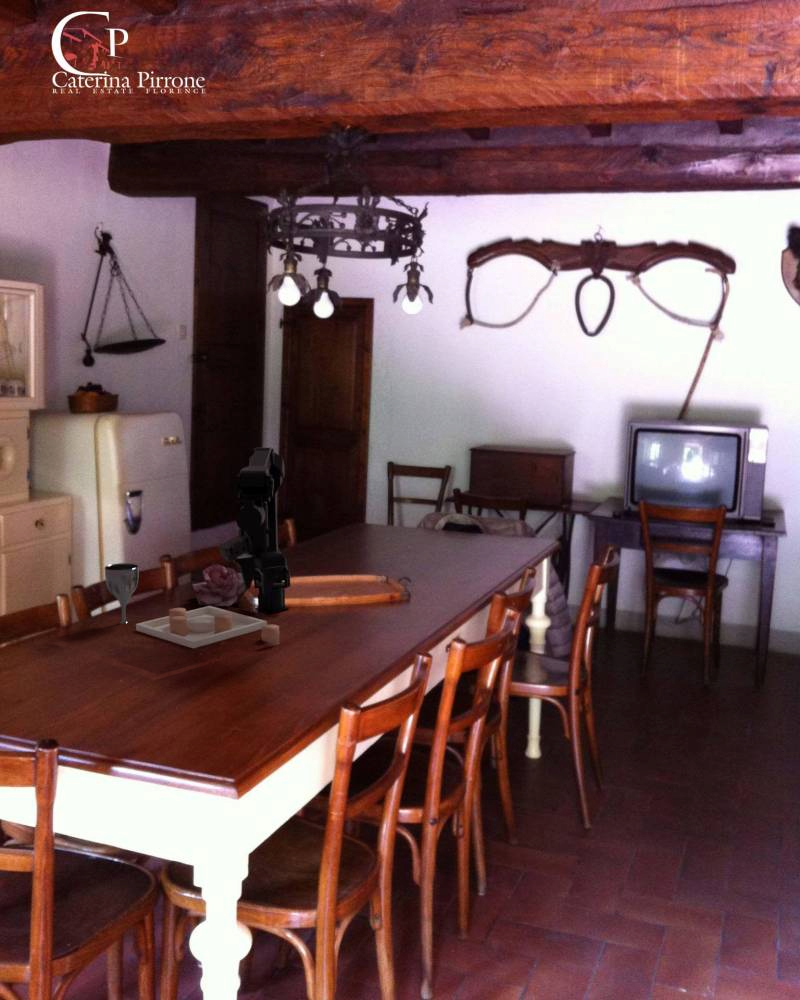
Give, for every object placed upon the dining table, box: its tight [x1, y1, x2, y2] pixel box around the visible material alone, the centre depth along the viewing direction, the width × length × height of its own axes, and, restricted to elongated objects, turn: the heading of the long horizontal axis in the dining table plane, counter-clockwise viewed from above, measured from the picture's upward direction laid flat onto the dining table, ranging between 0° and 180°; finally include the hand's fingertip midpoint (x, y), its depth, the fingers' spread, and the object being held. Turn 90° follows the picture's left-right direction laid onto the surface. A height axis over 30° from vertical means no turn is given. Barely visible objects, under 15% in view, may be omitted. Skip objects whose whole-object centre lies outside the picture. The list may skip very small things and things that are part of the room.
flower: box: [191, 563, 250, 607], centre depth 266 cm, size 15×15×10 cm
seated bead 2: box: [170, 616, 188, 637], centre depth 236 cm, size 4×4×4 cm
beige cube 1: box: [214, 614, 232, 634], centre depth 237 cm, size 4×4×4 cm
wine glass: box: [104, 562, 140, 625], centre depth 246 cm, size 8×8×15 cm
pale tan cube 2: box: [261, 624, 280, 647], centre depth 232 cm, size 4×4×4 cm
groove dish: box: [135, 605, 268, 649], centre depth 241 cm, size 22×22×3 cm
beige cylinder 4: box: [168, 607, 187, 622], centre depth 243 cm, size 4×4×4 cm
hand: (256, 591), depth 231 cm, fingers open, 9 cm apart
